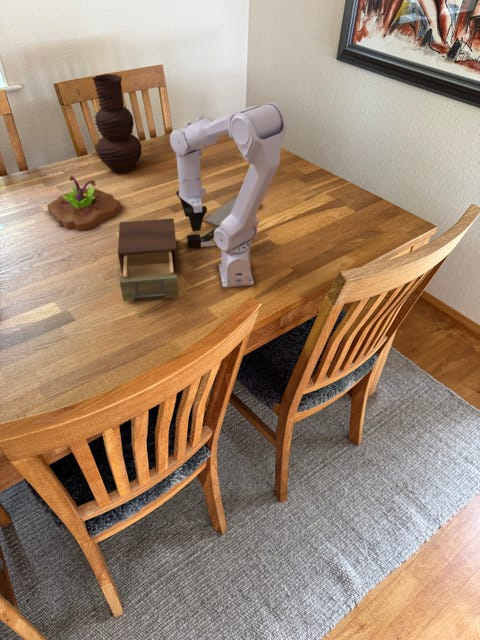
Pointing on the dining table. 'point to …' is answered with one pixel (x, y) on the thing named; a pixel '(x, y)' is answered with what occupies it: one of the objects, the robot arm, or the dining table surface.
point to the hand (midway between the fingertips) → (192, 223)
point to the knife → (198, 242)
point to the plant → (83, 207)
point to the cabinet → (147, 239)
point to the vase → (115, 126)
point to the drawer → (148, 277)
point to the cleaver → (219, 218)
